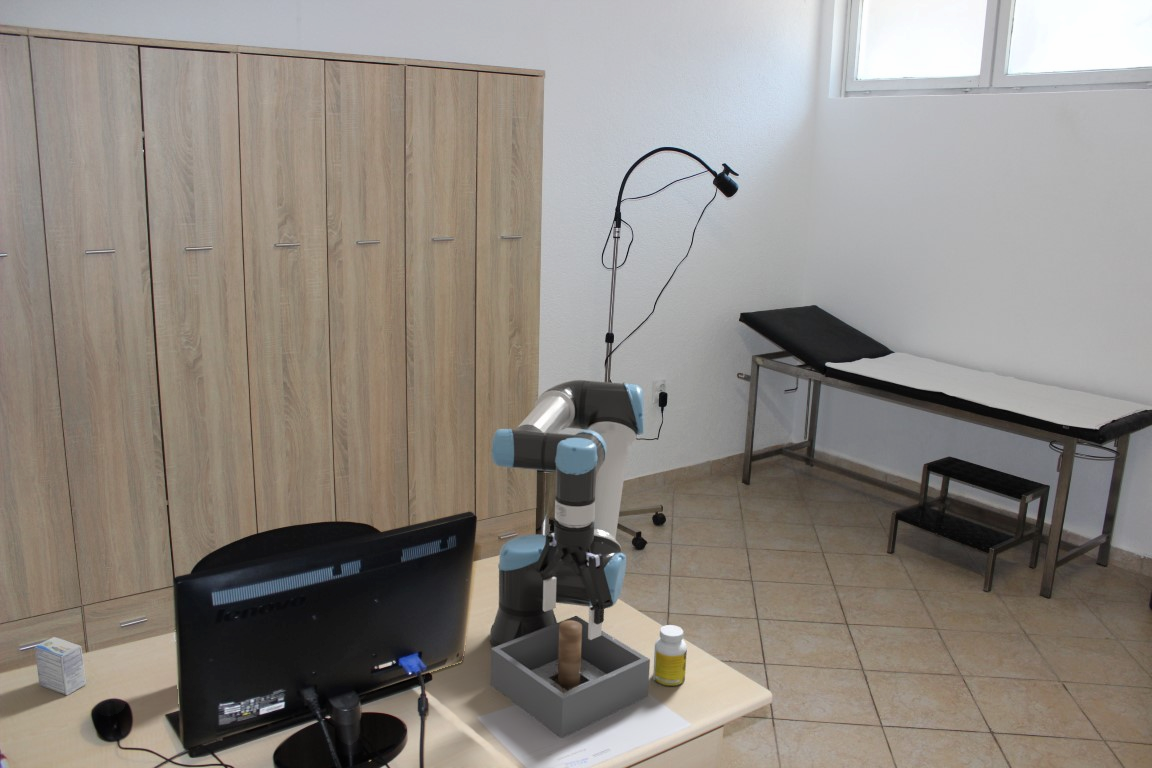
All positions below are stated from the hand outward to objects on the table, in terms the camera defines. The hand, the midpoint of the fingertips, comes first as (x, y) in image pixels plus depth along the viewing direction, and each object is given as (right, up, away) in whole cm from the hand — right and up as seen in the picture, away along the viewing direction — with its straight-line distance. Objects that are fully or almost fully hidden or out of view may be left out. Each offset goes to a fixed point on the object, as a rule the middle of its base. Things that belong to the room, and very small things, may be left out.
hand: (571, 622), depth 181 cm
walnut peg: (-1, -14, +3) cm, 15 cm away
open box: (-1, -15, +3) cm, 16 cm away
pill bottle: (+20, -15, +9) cm, 26 cm away
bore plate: (-1, -14, +3) cm, 15 cm away
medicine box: (-99, -13, +1) cm, 100 cm away
